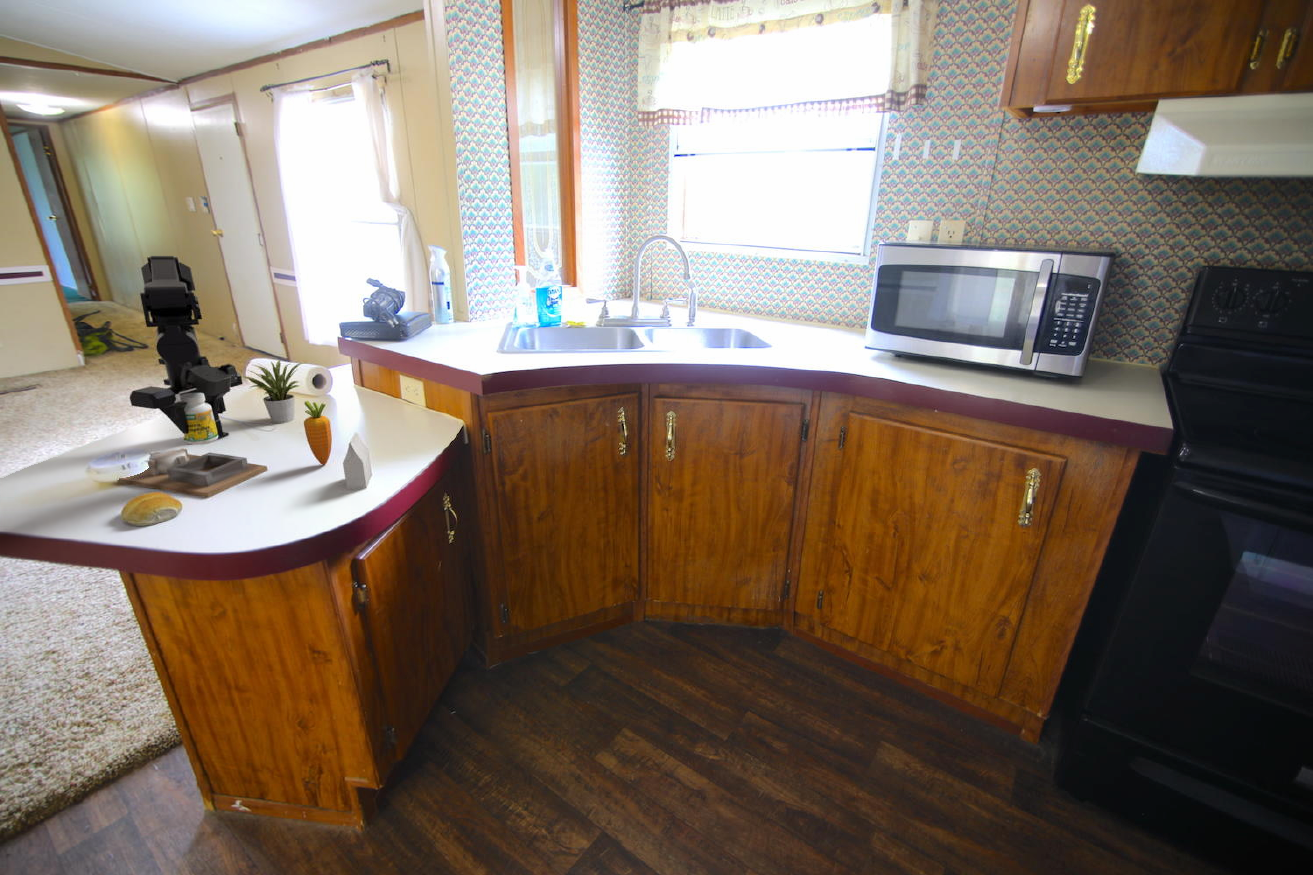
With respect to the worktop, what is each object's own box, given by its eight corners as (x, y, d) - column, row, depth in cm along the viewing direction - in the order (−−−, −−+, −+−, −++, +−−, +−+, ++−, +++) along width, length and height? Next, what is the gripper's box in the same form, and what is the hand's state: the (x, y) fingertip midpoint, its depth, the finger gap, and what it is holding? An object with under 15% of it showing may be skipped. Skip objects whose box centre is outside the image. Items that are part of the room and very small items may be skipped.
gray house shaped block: (372, 475, 128) (366, 431, 125) (366, 488, 122) (360, 443, 119) (353, 476, 127) (346, 432, 124) (346, 489, 121) (340, 444, 118)
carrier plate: (118, 482, 119) (112, 464, 118) (184, 457, 132) (180, 440, 131) (208, 497, 115) (203, 479, 114) (267, 470, 128) (264, 453, 126)
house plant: (302, 407, 168) (292, 350, 162) (327, 417, 160) (317, 359, 155) (246, 418, 157) (233, 358, 151) (270, 431, 149) (257, 368, 144)
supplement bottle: (219, 434, 123) (209, 390, 120) (218, 442, 119) (208, 397, 116) (186, 438, 120) (175, 393, 117) (184, 446, 116) (173, 400, 113)
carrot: (341, 463, 133) (331, 399, 128) (323, 471, 129) (312, 405, 123) (324, 459, 135) (314, 396, 129) (305, 467, 130) (294, 402, 125)
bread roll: (169, 501, 113) (164, 482, 112) (190, 514, 109) (185, 495, 108) (114, 517, 107) (108, 497, 106) (134, 532, 102) (128, 512, 101)
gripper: (167, 367, 103) (188, 450, 109) (257, 347, 120) (271, 419, 126) (117, 361, 105) (139, 442, 111) (212, 342, 123) (227, 413, 128)
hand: (199, 428), depth 119 cm, fingers closed on supplement bottle, 5 cm apart
